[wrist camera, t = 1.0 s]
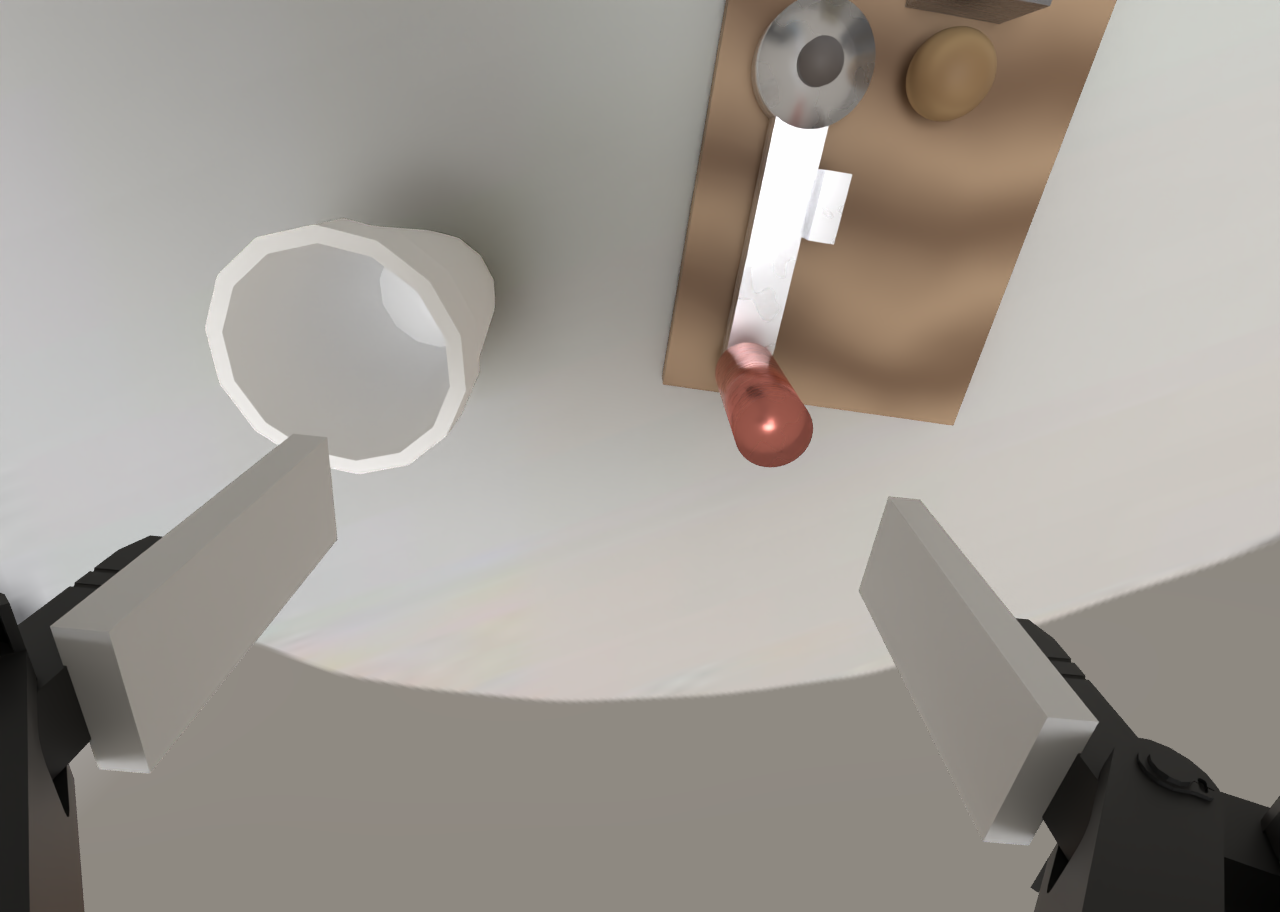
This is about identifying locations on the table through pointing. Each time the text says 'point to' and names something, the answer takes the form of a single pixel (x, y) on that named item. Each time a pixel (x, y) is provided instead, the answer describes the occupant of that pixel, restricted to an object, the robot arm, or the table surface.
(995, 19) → the two-tone textured tile
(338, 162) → the table surface
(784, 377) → the lever
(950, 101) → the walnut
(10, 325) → the table surface
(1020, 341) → the table surface
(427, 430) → the foam cup
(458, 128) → the table surface
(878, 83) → the board
